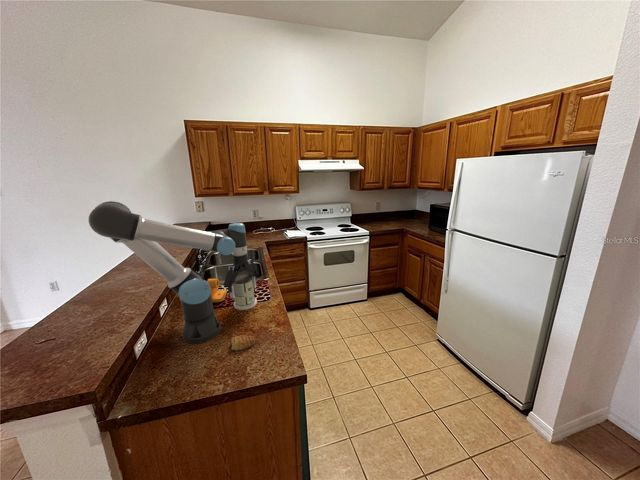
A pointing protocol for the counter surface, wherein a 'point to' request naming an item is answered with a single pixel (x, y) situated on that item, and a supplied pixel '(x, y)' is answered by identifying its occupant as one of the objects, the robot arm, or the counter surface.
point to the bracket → (216, 291)
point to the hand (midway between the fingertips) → (243, 292)
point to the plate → (246, 307)
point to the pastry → (242, 342)
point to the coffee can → (244, 290)
